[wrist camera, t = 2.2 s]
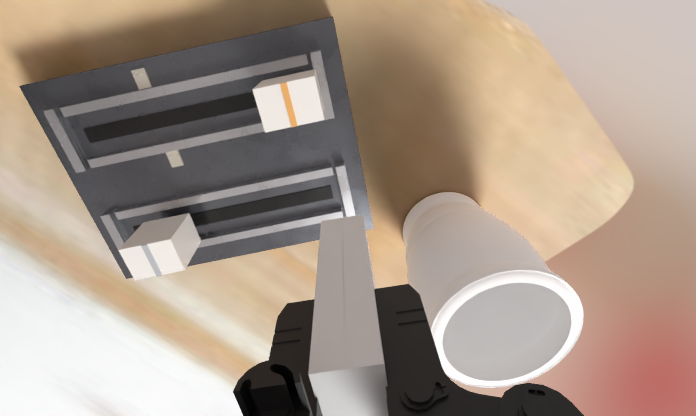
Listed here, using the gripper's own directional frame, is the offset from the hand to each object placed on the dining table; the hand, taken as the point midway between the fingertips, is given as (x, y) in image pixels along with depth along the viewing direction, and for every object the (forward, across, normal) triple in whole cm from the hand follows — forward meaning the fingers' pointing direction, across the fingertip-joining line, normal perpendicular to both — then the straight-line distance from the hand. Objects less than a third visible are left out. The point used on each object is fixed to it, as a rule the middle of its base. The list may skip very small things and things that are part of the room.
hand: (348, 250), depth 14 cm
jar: (+23, +8, -13) cm, 27 cm away
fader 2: (+19, -3, +3) cm, 19 cm away
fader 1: (+18, -16, -6) cm, 25 cm away
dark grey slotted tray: (+22, -11, -1) cm, 24 cm away
